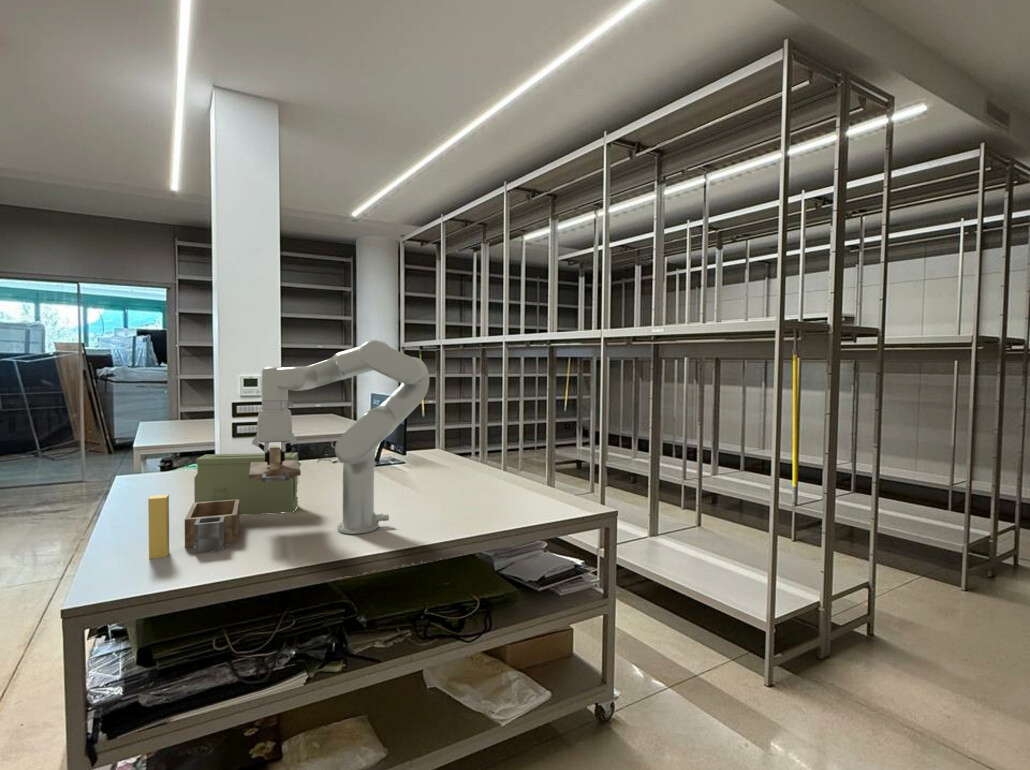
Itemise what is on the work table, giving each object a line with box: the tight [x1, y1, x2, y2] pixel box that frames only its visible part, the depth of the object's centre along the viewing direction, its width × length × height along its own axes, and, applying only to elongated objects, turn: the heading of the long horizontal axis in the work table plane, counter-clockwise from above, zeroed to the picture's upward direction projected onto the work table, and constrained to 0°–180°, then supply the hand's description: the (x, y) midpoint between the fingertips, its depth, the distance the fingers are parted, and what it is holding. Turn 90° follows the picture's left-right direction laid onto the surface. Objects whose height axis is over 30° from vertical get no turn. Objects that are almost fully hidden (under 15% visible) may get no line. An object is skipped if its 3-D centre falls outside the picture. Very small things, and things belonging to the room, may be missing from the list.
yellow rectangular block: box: [147, 493, 170, 560], centre depth 146 cm, size 4×4×16 cm
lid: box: [249, 444, 302, 482], centre depth 168 cm, size 14×27×8 cm, turn 25°
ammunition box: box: [193, 452, 302, 515], centre depth 190 cm, size 10×33×20 cm, turn 103°
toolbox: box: [184, 499, 241, 554], centre depth 161 cm, size 13×26×8 cm, turn 25°
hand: (274, 463), depth 170 cm, fingers closed on lid, 3 cm apart
